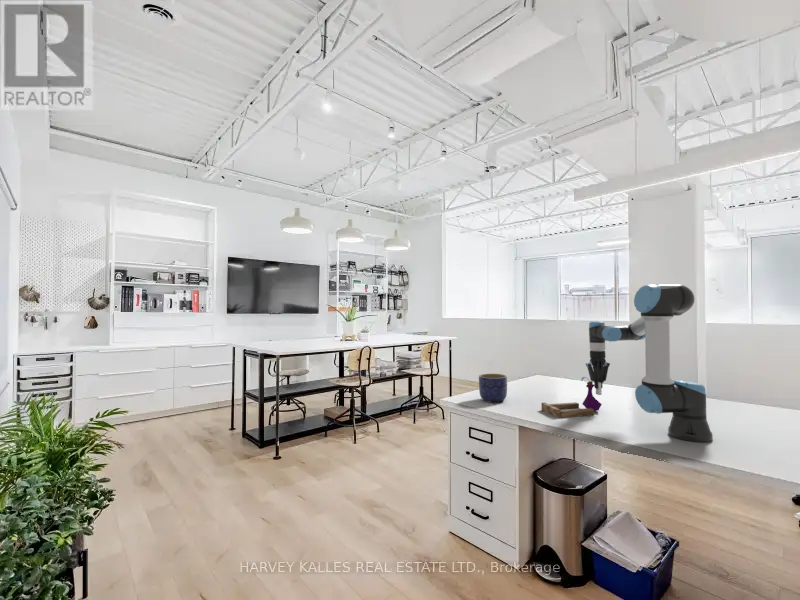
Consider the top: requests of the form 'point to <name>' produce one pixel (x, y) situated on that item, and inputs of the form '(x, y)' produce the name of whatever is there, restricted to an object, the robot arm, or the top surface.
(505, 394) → the planter
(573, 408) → the u rest
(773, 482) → the top surface
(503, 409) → the top surface
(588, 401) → the purple potion bottle
